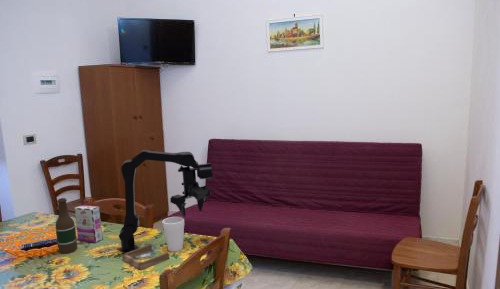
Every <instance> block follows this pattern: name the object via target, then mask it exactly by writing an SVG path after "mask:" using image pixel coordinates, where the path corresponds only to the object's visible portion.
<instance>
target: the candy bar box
mask: <svg viewBox="0 0 500 289" xmlns="http://www.w3.org/2000/svg"><path fill="white" fill-rule="evenodd" d="M100 210H101V209H100V206H95V205H84V204H81V205H79V206H76V207H74V216H75V227H76V231H77V232H76V235H77V242H78V241H79V242H86V243H93V244H96V243H99V242H101V241H102V240H103V239H104V238H103V230H102V229H103V228H102V219H101V211H100Z"/></svg>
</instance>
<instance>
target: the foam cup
mask: <svg viewBox="0 0 500 289" xmlns="http://www.w3.org/2000/svg"><path fill="white" fill-rule="evenodd" d="M161 222H162V223H161V224H162V229H163V232H164V237H165V241H166V246H167V250H168V251H170V252H179V251H182V250H183V247H184V236H185V234H184V232H185V230H184V229H185V217H183V216H170V217H167V218H164V219H163V220H162V221H161Z"/></svg>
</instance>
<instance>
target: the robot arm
mask: <svg viewBox="0 0 500 289" xmlns="http://www.w3.org/2000/svg"><path fill="white" fill-rule="evenodd" d="M145 161H155V162H166V163H173V164H177V165H180V166H179V167H178V169H177V172H178V173H182V180H183V182H181V186H183V191H182V194H183V195H182V194H181V195H180V194H175V195H172V196H171V197H170V199H169V200H170V203H171V204H173V205H175V206H176V208H178V211H180V213H181V215H182V218H185V217H186V205H187V203H186V200H188V199H190V198H194V199H196V201H197V207H198V211H199V212H202V209H203V207H204V202H205V201H206V199H207V198H209V196H210V195H212V194H211V190H210V188H209V186H208V185H202V186H200V185H199V182H198V181H197V178H199V180H206V179H213V168H212V164H211V162H208V163H200V164H199V162H198V161H197V160H196V159H195V156H194V154H193V153H192V152H191V151H180V152H167V151H155V150H148V149H143V150H142V151H140V152H139V153H137V154H136V155H135V156H134V157H132V158H131V159H129V158H128V159H126V160H125V161H124V162H123V163H122V165H121V167H120V169H121V174H122V178H123V181H124V194H125V195H124V196H125V215H124V221H123V226H122V227H121V229H120V231H119V234H118V238H119V240H120V244H121V246H120V247H119V248H117V249H118V251H120V252H122V253H123V254H125V253H128V252H130V251H133V250H136V249H139V247H138V246H136V244H135V243H136V242H135V233H137V231H138V228H139V227H140V223H141V222H140V214H138V213H136V205H135V204H136V203H135V202H136V201H135V177H136V172H137V168H138V167H139V166H140V165H141V164H143V163H145Z"/></svg>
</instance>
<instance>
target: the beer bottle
mask: <svg viewBox="0 0 500 289" xmlns="http://www.w3.org/2000/svg"><path fill="white" fill-rule="evenodd" d="M56 200H57V201H56V202H57V207H58V208H57V209H58V218H57V219H56V222H55V234H56V242H57V249H58V248H59V250H58V252H59V253H60V254H61V255H68V254H72V253H74V252H75V251H77V250H78V238H77V232H76V231H77V230H76V223H75V221H74V220H73V218H72V217H71V216H70V213H69V209H68V205H67V204H68V203H67V198H65V197H62V198H58V199H56Z"/></svg>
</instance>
